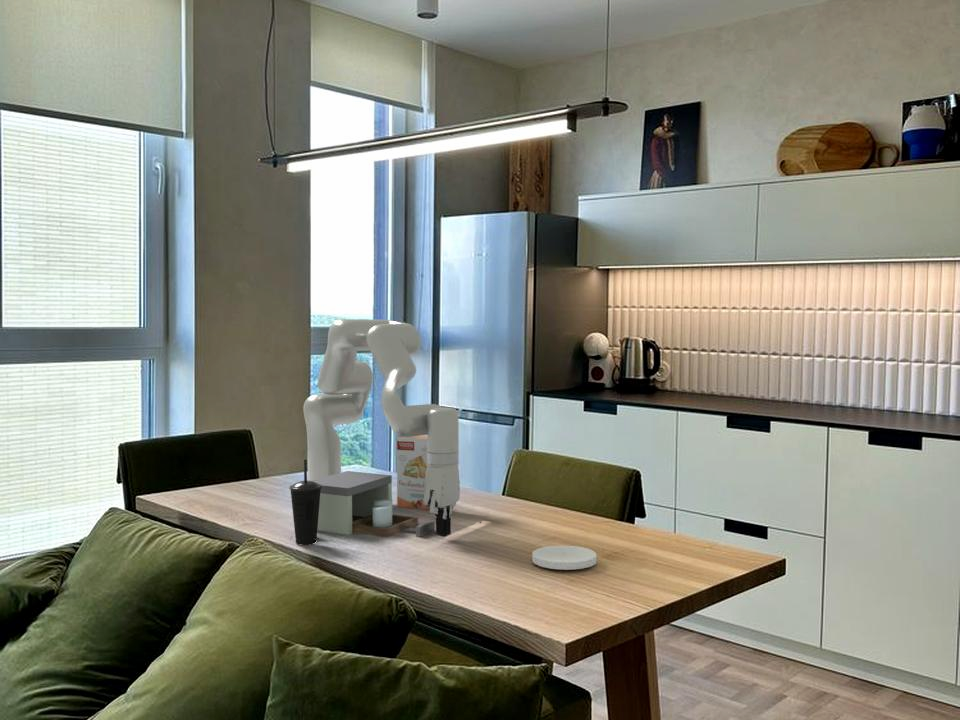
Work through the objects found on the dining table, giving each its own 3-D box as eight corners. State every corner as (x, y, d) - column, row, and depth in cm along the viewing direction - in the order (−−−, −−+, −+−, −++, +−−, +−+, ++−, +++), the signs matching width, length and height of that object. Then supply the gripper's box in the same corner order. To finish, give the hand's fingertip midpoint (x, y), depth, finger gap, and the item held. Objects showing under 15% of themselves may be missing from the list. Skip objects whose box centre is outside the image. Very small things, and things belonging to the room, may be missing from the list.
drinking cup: (328, 539, 217) (327, 457, 216) (312, 547, 210) (311, 463, 209) (300, 537, 220) (299, 456, 219) (283, 545, 213) (282, 461, 212)
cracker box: (396, 510, 249) (395, 435, 248) (406, 506, 254) (405, 433, 253) (442, 515, 243) (442, 438, 242) (451, 510, 249) (451, 435, 248)
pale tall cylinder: (380, 521, 232) (380, 498, 231) (396, 523, 229) (396, 500, 229) (369, 525, 227) (369, 501, 227) (385, 527, 225) (385, 503, 225)
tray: (378, 522, 234) (378, 510, 234) (441, 530, 225) (441, 518, 225) (346, 534, 221) (346, 521, 221) (411, 543, 212) (411, 530, 212)
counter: (348, 517, 241) (347, 470, 241) (428, 527, 230) (427, 479, 229) (302, 532, 224) (302, 483, 224) (386, 544, 213) (386, 492, 212)
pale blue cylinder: (378, 528, 224) (378, 504, 224) (395, 530, 222) (395, 506, 222) (368, 532, 220) (368, 508, 219) (386, 534, 218) (386, 510, 217)
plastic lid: (547, 553, 206) (547, 542, 206) (605, 561, 200) (605, 549, 200) (521, 569, 194) (521, 557, 194) (583, 577, 187) (583, 565, 187)
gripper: (445, 453, 225) (445, 525, 226) (413, 462, 212) (413, 539, 213) (471, 455, 221) (471, 529, 223) (440, 465, 208) (441, 543, 209)
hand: (443, 533), depth 218 cm, fingers closed
